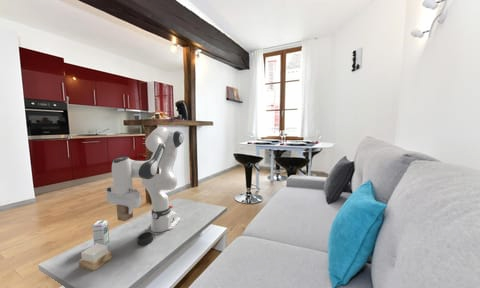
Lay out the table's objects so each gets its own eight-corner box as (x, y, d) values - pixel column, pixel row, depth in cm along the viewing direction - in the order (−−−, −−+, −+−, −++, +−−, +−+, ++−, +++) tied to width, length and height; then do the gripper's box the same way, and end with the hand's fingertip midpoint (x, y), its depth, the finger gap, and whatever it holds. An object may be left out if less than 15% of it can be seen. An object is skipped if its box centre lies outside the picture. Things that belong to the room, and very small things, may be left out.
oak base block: (98, 254, 109) (98, 248, 108) (111, 258, 106) (111, 251, 105) (79, 267, 99) (78, 260, 99) (93, 271, 96) (92, 264, 96)
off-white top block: (97, 250, 107) (96, 243, 106) (108, 252, 105) (107, 245, 104) (82, 259, 99) (81, 252, 99) (93, 262, 97) (93, 255, 97)
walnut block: (125, 215, 106) (124, 201, 105) (132, 216, 104) (131, 202, 103) (117, 220, 101) (116, 205, 100) (125, 221, 100) (123, 206, 99)
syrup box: (104, 247, 115) (103, 224, 114) (93, 248, 114) (92, 225, 113) (109, 241, 121) (107, 219, 119) (99, 242, 120) (97, 220, 118)
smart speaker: (149, 235, 127) (149, 230, 127) (156, 240, 122) (155, 234, 121) (135, 241, 120) (135, 236, 120) (141, 247, 115) (141, 241, 114)
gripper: (143, 187, 101) (145, 212, 102) (114, 184, 107) (116, 207, 108) (133, 191, 95) (135, 218, 96) (103, 188, 101) (105, 212, 102)
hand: (125, 212), depth 102 cm, fingers closed on walnut block, 5 cm apart
